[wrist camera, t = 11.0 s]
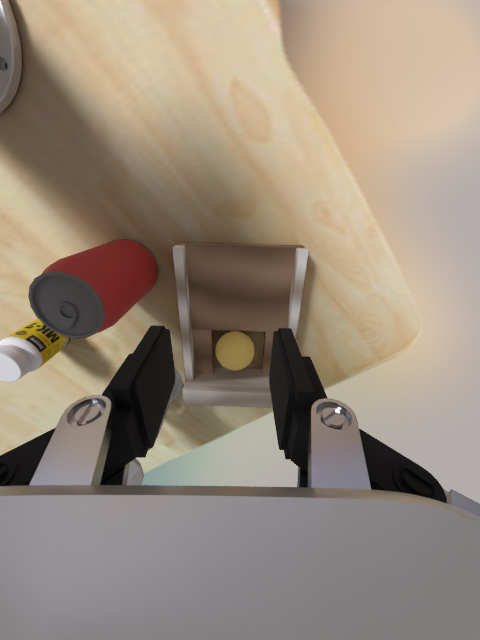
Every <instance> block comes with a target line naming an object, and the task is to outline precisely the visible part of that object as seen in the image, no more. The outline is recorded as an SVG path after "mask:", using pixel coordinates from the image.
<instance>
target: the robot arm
mask: <svg viewBox="0 0 480 640" xmlns="http://www.w3.org/2000/svg"><path fill="white" fill-rule="evenodd" d="M21 67H22V56H21V43H20V38H19V33H18V29H17V24H16V21H15V18H14V15H13V12H12V9H11V6H10V3H9V1H8V0H0V113H1V112H2V111H3V110H4V109H5V108H6V107H7V106H8V105H9V104H10V103H11V101H12V99H13V98H14V96H15V94H16V92H17V89H18V86H19V82H20V78H21ZM174 384H175V368H174V360H173V353H172V345H171V338H170V331H169V329H166V328H165V326H151V327H150V328H149V330H148V331H147V333H146V334H145V336H144V337H143V339H142V340H141V342H140V343H139V345H138V346H137V348H136V350H135V351H134V353H133V354H129V355H128V357H127V358H126V359H125V361H124V362H123V364H122V365H121V367H120V368H119V370H118V371H117V373H116V374H115V376H114V377H113V379H112V380H111V382H110V383H109V385H108V386H107V388H106V389H105V391H104V392H103V394H102V395H92V396H88V397H84V398H82V399H80V400H78V401H76V402H75V403H73V404H71V405H70V406H69V407H68V408H67V409H66V410H65V411H64V413H63V414H62V416H61V418H60V420H59V423H58V425H57V427H56V428H54V429H52V430H50V431H48V432H46V433H44V434H42V435H40V436H38V437H36V438H34V439H32V440H31V441H29V442H27V443H25V444H23V445H21V446H19V447H17V448H15V449H13V450H11V451H9V452H7V453H5V454H3V455H1V456H0V640H480V504H479V503H477V502H475V501H473V500H471V499H469V498H467V497H465V496H464V495H462V494H460V493H458V492H456V491H454V490H452V489H451V490H450V492H447V491H445V490H444V489H443V488H442V487H441V485H440V484H439V482H438V481H437V480H436V479H435V478H434V477H433V476H432V475H431V474H430V473H429V472H428V471H426V470H425V469H424V468H422V467H421V466H419V465H418V464H416V463H414V462H413V461H411V460H409V459H408V458H406V457H404V456H403V455H401V454H400V453H398V452H396V451H395V450H393V449H392V448H390V447H388V446H387V445H385V444H383V443H382V442H380V441H379V440H377V439H375V438H374V437H372V436H370V435H369V434H367V433H366V432H364V431H362V430H361V429H359V427H358V422H357V418H356V416H355V414H354V412H353V411H352V410H351V409H350V408H349V407H348V406H347V405H345V404H344V403H342V402H340V401H337V400H334V399H328V398H327V396H326V394H325V391H324V389H323V386H322V384H321V382H320V379H319V377H318V374H317V372H316V370H315V367H314V365H313V363H312V360H311V358H310V357H302V356H301V353H300V351H299V348H298V345H297V343H296V340H295V337H294V335H293V332H292V329H291V328H278V331H274V333H273V343H272V353H271V363H270V373H269V386H270V392H271V399H272V406H273V412H274V418H275V425H276V431H277V438H278V445H279V449H280V450H284V453H285V458H286V459H291V461H293V462H294V463H295V464H296V465H297V466H298V485H297V487H295V488H294V487H239V486H238V487H237V486H149V485H148V486H147V485H144V486H143V485H142V486H141V485H127V481H128V474H129V466H130V464H129V463H130V462H131V461H132V460H134V459H135V458H136V457H146V454H147V451H148V448H152V447H153V446H154V443H155V440H156V437H157V434H158V431H159V428H160V425H161V422H162V419H163V416H164V413H165V410H166V407H167V404H168V401H169V398H170V395H171V392H172V390H173V387H174Z"/></svg>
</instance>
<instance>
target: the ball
mask: <svg viewBox="0 0 480 640" xmlns="http://www.w3.org/2000/svg"><path fill="white" fill-rule="evenodd" d="M254 353H255V348H254V344H253V342H252V340H251V339H250V337H249V336H248V335H246V334H245V333H243V332H239V331H231V332H228V333H226V334H224V335H223V336H222V337H221V338H220V339H219V340H218V342H217V345H216V357H217V359H218V361H219V362H220V364H221V365H222V366H224V367H225V368H227V369H229V370H241V369H243V368H245V367H247V366H248V365H249V364H250V363H251V361H252V360H253V357H254Z"/></svg>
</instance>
